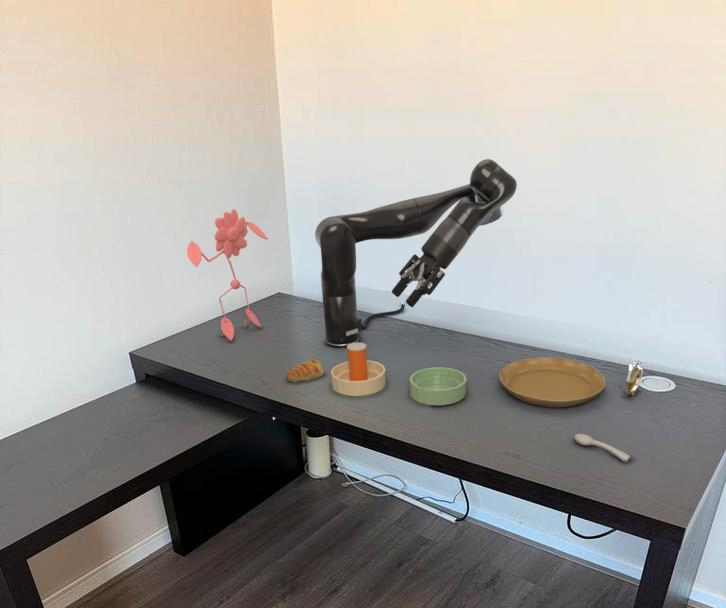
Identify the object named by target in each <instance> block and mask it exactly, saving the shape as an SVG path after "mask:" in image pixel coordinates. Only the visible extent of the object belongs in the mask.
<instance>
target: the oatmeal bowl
mask: <svg viewBox="0 0 726 608" xmlns="http://www.w3.org/2000/svg"><path fill="white" fill-rule="evenodd" d="M386 376H387V375H386V367H385V366H384V364H382V363H380V362H378V361H374V360H369V359H367V377H368V380H363V381H350V377H349V362H348V360H347V361H344V362H341V363H338V364H336V365H335V366H333V368H331V371H330V378H331V388H332V390H333V392H336V393H337V394H340V395H342V396H349V397H364V396H370V395H373V394H377V393H379V392H380V391H382V390H383V389H385V387H386V385H387V379H386V378H387V377H386Z"/></svg>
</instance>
